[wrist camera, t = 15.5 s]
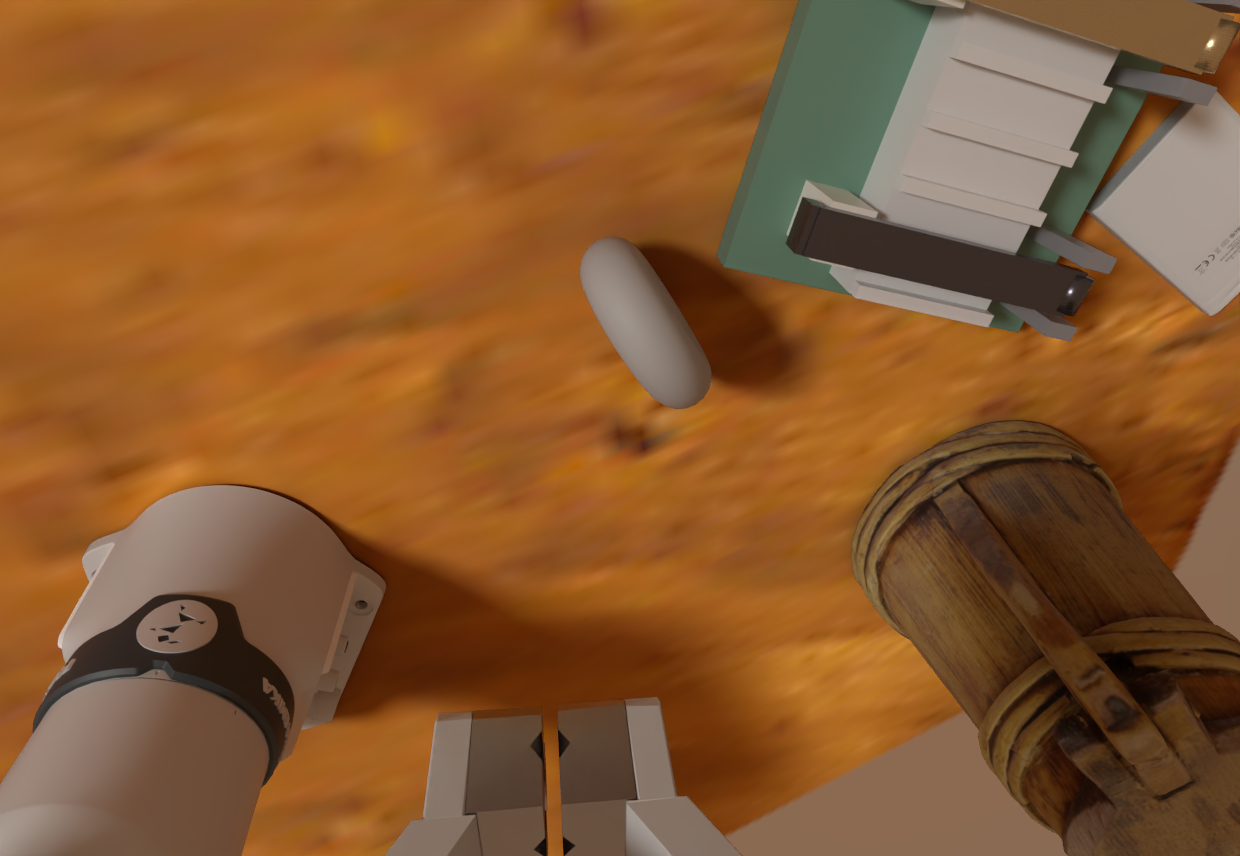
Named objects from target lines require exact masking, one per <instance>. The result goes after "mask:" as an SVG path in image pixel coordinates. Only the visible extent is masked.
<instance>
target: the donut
mask: <svg viewBox="0 0 1240 856" xmlns="http://www.w3.org/2000/svg"><path fill="white" fill-rule="evenodd" d="M580 276H581V283H582V286H583V289H584V292H585V295H586V297H587V299H588V301H589V303H590V305H591V307H592V309H593V311H594V313H595V315H596V317H597V318H598V320H599V322H600V324H601V326H602V327H603V329H604V331H605V333H606V334H607V336H608V337H609V339H610V341H611V342H612V344H613V346H614V347H615V349H616V350H617V352H618V353H619V355H620V356H621V358H622V359H623V361H624V362H625V364H626V365H627V366H628V368H629V369H630V371H631V372H632V373H633V375H634V376H635V377H636V378H637V380H638V381H639V382H640V384H641V385H642V386H643V387H644V389H645V390H646V391H647V392H648V393H649V394H650V395H651V396H652V397H653V398H654V399H656V400H657V401H659V402H660V403H662V404H663V405H665V406H667V407H670V408H674V409H684V408H688V407H691V406H693V405H696V404H697V403H698V402H699V401H700V400H702V399H703V398H704V396H705V395H706V393H707V391H708V390H709V387H710V383H711V379H712V374H711V367H710V365H709V362H708V360H707V358H706V355H705V353H704V351H703V349H702V347H701V346H700V344H699V342H698V340H697V338H696V337H695V335H694V333H693V331H692V330H691V328H690V326H689V325H688V323H687V321H686V320H685V318H684V316H683V315H682V313H681V311H680V310H679V308H678V307H677V305H676V303H675V302H674V300H673V299H672V297H671V295H670V294H669V292H668V291H667V289H666V288H665V286H664V284H663V283H662V281H661V280H660V278H659V277H658V275H657V274H656V272H655V271H654V269H653V268H652V267H651V265H650V264H649V262H648V261H647V259H646V258H645V257H644V256H643V254H642V253H641V252H640V251H639V250H638V248H637V247H636V246H635V245H633V244H632V243H630V242H629V241H627V240H625V239H623V238H619V237H605V238H602V239H600V240H598V241H596V242H594V243H593V244H592V245H591V246H590V247H589V248H588V249H587V250H586V252H585V254H584V256H583V258H582V263H581V269H580Z"/></svg>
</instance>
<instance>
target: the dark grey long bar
mask: <svg viewBox="0 0 1240 856" xmlns="http://www.w3.org/2000/svg"><path fill="white" fill-rule="evenodd" d="M785 244H786V245H787V246H788V247H789V248H790V249H791V250H792V251H793V252H794V254H798V255H802V256H804V257H809V258H813V259H817V260H821V261H826V262H830V263H834V264H839V265H843V266H847V267H852V268H856V269H860V270H864V271H869V272H873V273H877V274H882V275H886V276H890V277H895V278H899V279H903V280H908V281H912V282H916V283H920V284H925V285H929V286H933V287H938V288H942V289H946V290H951V291H955V292H959V293H964V294H968V295H972V296H976V297H981V298H985V299H989V300H994V301H998V302H1002V303H1007V304H1011V305H1015V306H1020V307H1024V308H1028V309H1032V310H1037V311H1041V312H1045V313H1050V314H1054V315H1058V316H1063V317H1064V315H1069V316H1075V314H1076V313H1077V311H1078V309H1079V307H1080V306H1081V304H1082V302H1083V300H1084V299H1085V297H1086V295H1087V293H1088V292H1089V290H1090V288H1091V286H1092V285H1093V283H1094V281H1095V279H1094V278H1092V277H1090V276H1088V274H1087V273H1085V272H1084V271H1082V270H1080V269H1078V268H1074V267H1070V266H1066V265H1062V264H1058V263H1054V262H1050V261H1046V260H1042V259H1038V258H1034V257H1030V256H1026V255H1022V254H1018V253H1014V252H1010V251H1006V250H1002V249H998V248H993V247H989V246H985V245H981V244H977V243H973V242H969V241H965V240H961V239H957V238H953V237H949V236H945V235H941V234H937V233H933V232H929V231H925V230H921V229H917V228H913V227H909V226H905V225H901V224H897V223H893V222H889V221H885V220H881V219H877V218H873V217H869V216H865V215H861V214H857V213H853V212H849V211H845V210H841V209H837V208H833V207H829V206H825V205H823V204H821V203H820V202H819V201H818V200H814V199H810V198H806V197H802V200H801V202H800V205H799V208H798V211H797V213H796V216H795V219H794V222H793V224H792V227H791V230H790V233H789V235H788V238H787V241H786V243H785Z"/></svg>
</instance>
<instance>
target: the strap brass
mask: <svg viewBox="0 0 1240 856" xmlns="http://www.w3.org/2000/svg"><path fill="white" fill-rule="evenodd" d="M965 1H968V2H971V3H974V4H977V5H980V6H983V7H986V8H990V9H993V10H996V11H999V12H1002V13H1005V14H1008V15H1011V16H1014V17H1017V18H1020V19H1024V20H1027V21H1030V22H1033V23H1036V24H1039V25H1042V26H1045V27H1048V28H1051V29H1054V30H1058V31H1061V32H1064V33H1067V34H1070V35H1073V36H1076V37H1079V38H1082V39H1085V40H1088V41H1092V42H1095V43H1098V44H1101V45H1104V46H1107V47H1110V48H1113V49H1116V50H1119V51H1122V52H1126V53H1129V54H1132V55H1135V56H1138V57H1141V58H1144V59H1147V60H1150V61H1153V62H1156V63H1160V64H1163V65H1166V66H1169V67H1172V68H1175V69H1178V70H1181V71H1184V72H1187V73H1192V74H1198V75H1202V73H1203V72H1206V73H1211V74H1214V73H1215V71H1216V70H1217V68H1218V66H1219V65H1220V63H1221V61H1222V59H1223V58H1224V56H1225V54H1226V52H1227V51H1228V49H1229V47H1230V45H1231V44H1232V42H1233V40H1234V38H1235V37H1236V35H1237V33H1238V32H1239V30H1240V23H1237V22H1234V21H1232V20H1233V18H1234V17H1233V16H1230V15H1227V14H1224V13H1221V12H1218V11H1216V10H1213V9H1210V8H1207V7H1204V6H1201V5H1198V4H1195V3H1193V2H1190V1H1187V0H965Z"/></svg>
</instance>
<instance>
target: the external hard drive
mask: <svg viewBox="0 0 1240 856" xmlns="http://www.w3.org/2000/svg"><path fill="white" fill-rule="evenodd" d="M1205 84H1206V83H1205ZM1208 85H1210V84H1208ZM1211 86H1212V85H1211ZM1085 211H1086V212H1087V213H1088V214H1089V215H1091V216H1092V217H1093V218H1094V219H1095V220H1096V221H1097V222H1099V223H1100V224H1101V225H1102V226H1103V227H1104V228H1106V229H1107V230H1108V231H1109V232H1110V233H1111V234H1113V235H1114V236H1115V237H1116V238H1117V239H1118V240H1120V241H1121V242H1122V243H1123V244H1124V245H1125V246H1127V247H1128V248H1129V249H1130V250H1131V251H1132V252H1133V253H1135V254H1136V255H1137V256H1138V257H1139V258H1140V259H1142V260H1143V261H1144V262H1145V263H1146V264H1147V265H1148V266H1150V267H1151V268H1152V269H1153V270H1154V271H1155V272H1156V273H1158V274H1159V275H1160V276H1161V277H1162V278H1163V279H1165V280H1166V281H1167V282H1168V283H1169V284H1170V285H1172V286H1173V287H1174V288H1175V289H1176V290H1177V291H1178V292H1180V293H1181V294H1182V295H1183V296H1184V297H1185V298H1187V299H1188V300H1189V301H1190V302H1191V303H1192V304H1193V305H1195V306H1196V307H1197V308H1198V309H1199V310H1200V311H1202V312H1203V313H1205V314H1207V315H1209V316H1213V315H1214V314H1216V313H1218V312H1219V311H1220V310H1221V309H1222V308H1224V307H1225V306H1226V305H1227V304H1228V303H1229V302H1230V301H1231V300H1232V299H1233V298H1234V297H1235V296H1236V295H1237V294H1238V293H1239V292H1240V115H1239V114H1238V113H1237V112H1236V111H1235V110H1234V109H1233V108H1232V107H1231V106H1230V105H1229V104H1228V103H1227V101H1226V100H1225V99H1224V98H1223V97H1222V96H1221V95H1220V94H1219V93H1218V92H1217V91H1216V92H1215V94H1214V96H1213V97H1212V99H1211V101H1210V102H1209V104H1208V106H1204V105H1200V104H1195V103H1190V102H1185V101H1182V102H1181V103H1180V104H1179V105H1178V106H1177V107H1176V108H1175V109H1174V110H1173V112H1172V113H1171V114H1170V115H1169V116H1168V117H1167V118H1166V119H1165V120H1164V121H1163V122H1162V124H1161V125H1160V126H1159V127H1158V128H1157V129H1156V130H1155V131H1154V132H1153V133H1152V134H1151V136H1150V137H1149V138H1148V139H1147V140H1146V141H1145V142H1144V143H1143V144H1142V145H1141V146H1140V148H1139V149H1138V150H1137V151H1136V152H1135V153H1134V154H1133V155H1132V156H1131V157H1130V158H1129V160H1128V161H1127V162H1126V163H1125V164H1124V165H1123V166H1122V167H1121V168H1120V169H1119V170H1118V172H1117V173H1116V174H1115V175H1114V176H1113V177H1112V178H1111V179H1110V180H1109V181H1108V182H1107V183H1106V185H1105V186H1104V187H1103V188H1102V189H1101V190H1100V191H1099V192H1098V193H1097V194H1096V195H1095V197H1094V198H1093V199H1092V200H1091V201H1090V202H1089V203H1088V205H1087V207H1086V209H1085Z"/></svg>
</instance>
